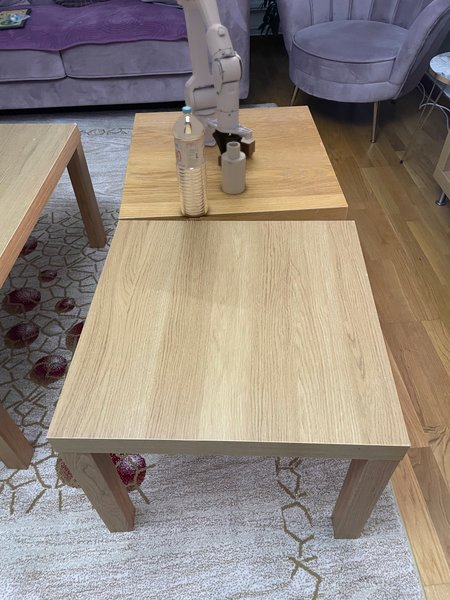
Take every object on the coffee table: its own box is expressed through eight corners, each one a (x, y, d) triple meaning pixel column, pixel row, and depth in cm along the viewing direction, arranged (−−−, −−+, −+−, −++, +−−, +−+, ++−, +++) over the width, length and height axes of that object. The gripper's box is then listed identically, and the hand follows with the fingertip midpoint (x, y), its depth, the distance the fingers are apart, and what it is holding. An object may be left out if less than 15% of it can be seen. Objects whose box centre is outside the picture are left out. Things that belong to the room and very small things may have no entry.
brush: (212, 163, 126) (212, 150, 123) (238, 147, 133) (239, 134, 130) (230, 169, 123) (230, 156, 120) (255, 152, 130) (256, 139, 127)
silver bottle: (226, 181, 121) (225, 137, 112) (247, 184, 119) (248, 140, 111) (219, 192, 117) (217, 148, 108) (241, 195, 115) (241, 151, 107)
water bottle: (204, 220, 108) (198, 115, 90) (177, 217, 109) (166, 113, 91) (211, 204, 112) (206, 102, 95) (184, 202, 113) (175, 100, 96)
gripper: (259, 109, 115) (258, 159, 124) (215, 97, 121) (216, 145, 131) (243, 118, 111) (243, 169, 120) (198, 105, 117) (201, 154, 127)
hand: (228, 157), depth 125 cm, fingers closed on brush, 2 cm apart
